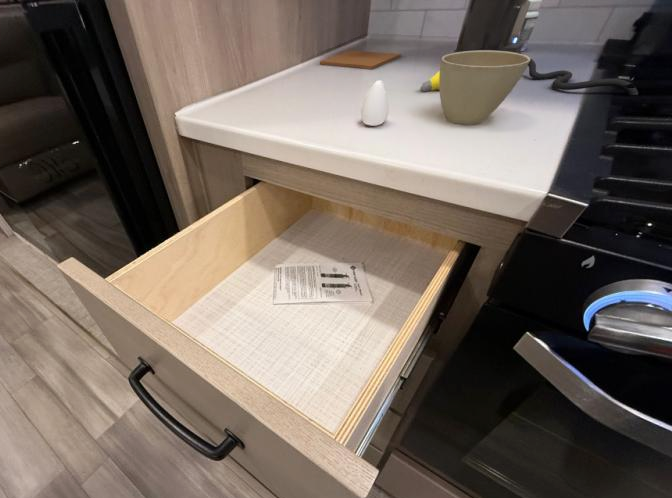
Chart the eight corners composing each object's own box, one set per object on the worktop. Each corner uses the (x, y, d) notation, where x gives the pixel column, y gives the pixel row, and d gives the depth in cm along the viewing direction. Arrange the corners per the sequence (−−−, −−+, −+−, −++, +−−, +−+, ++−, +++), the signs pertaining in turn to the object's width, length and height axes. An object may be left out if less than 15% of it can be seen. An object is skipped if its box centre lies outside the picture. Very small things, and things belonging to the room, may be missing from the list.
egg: (387, 120, 48) (394, 76, 44) (384, 129, 45) (392, 83, 41) (361, 119, 49) (366, 76, 45) (357, 128, 46) (362, 83, 42)
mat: (400, 56, 76) (401, 53, 75) (372, 69, 70) (372, 65, 69) (349, 53, 83) (349, 50, 82) (319, 64, 77) (319, 61, 76)
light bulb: (459, 89, 55) (464, 68, 52) (423, 103, 56) (426, 84, 53) (451, 78, 57) (454, 57, 54) (416, 92, 58) (418, 72, 55)
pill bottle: (495, 50, 74) (512, 0, 68) (512, 47, 74) (531, -3, 68) (512, 53, 70) (531, 1, 64) (529, 50, 71) (550, -2, 65)
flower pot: (514, 131, 42) (543, 64, 36) (431, 132, 43) (448, 68, 38) (493, 107, 48) (516, 47, 43) (423, 108, 50) (436, 51, 45)
